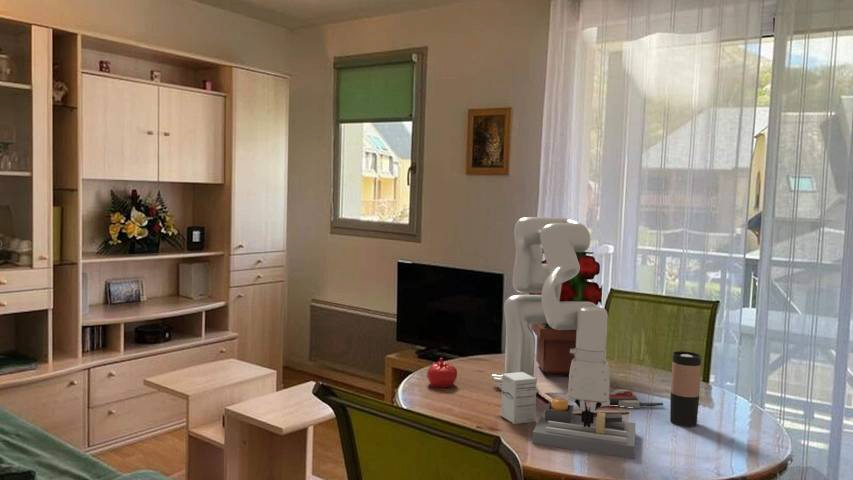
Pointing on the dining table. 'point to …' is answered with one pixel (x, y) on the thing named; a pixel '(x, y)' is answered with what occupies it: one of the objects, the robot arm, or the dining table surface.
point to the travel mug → (685, 388)
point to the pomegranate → (442, 374)
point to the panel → (583, 434)
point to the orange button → (559, 404)
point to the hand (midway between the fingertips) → (587, 425)
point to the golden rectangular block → (600, 423)
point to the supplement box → (518, 397)
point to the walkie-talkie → (627, 399)
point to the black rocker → (613, 417)
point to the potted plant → (559, 342)
